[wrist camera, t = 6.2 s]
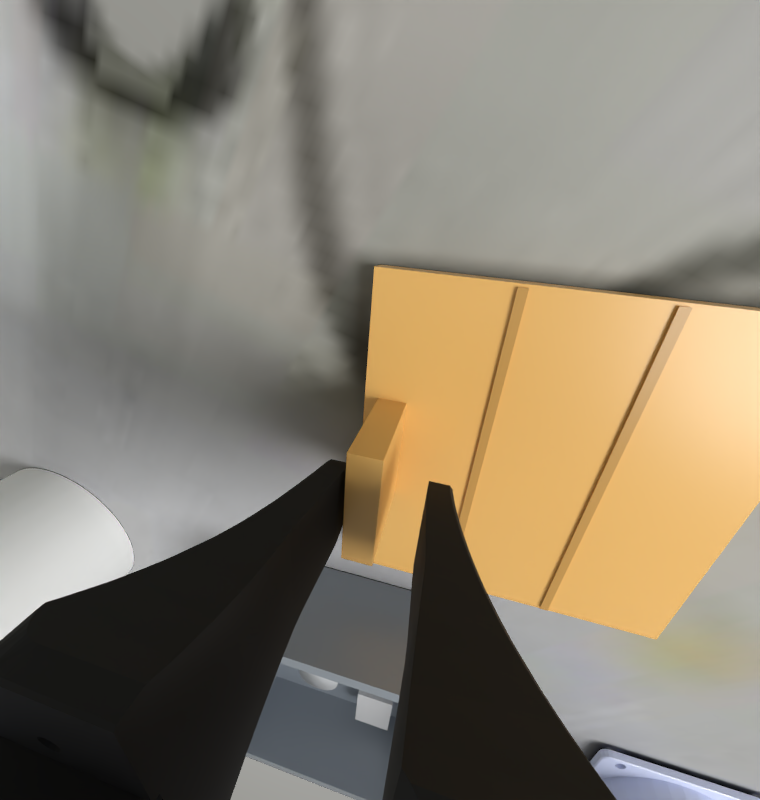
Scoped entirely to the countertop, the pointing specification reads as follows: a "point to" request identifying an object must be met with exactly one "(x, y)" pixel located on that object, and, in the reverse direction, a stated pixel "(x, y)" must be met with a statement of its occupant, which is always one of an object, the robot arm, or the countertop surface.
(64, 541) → the cylinder container
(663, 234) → the countertop surface
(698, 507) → the lid
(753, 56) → the countertop surface
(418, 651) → the robot arm
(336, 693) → the tub
